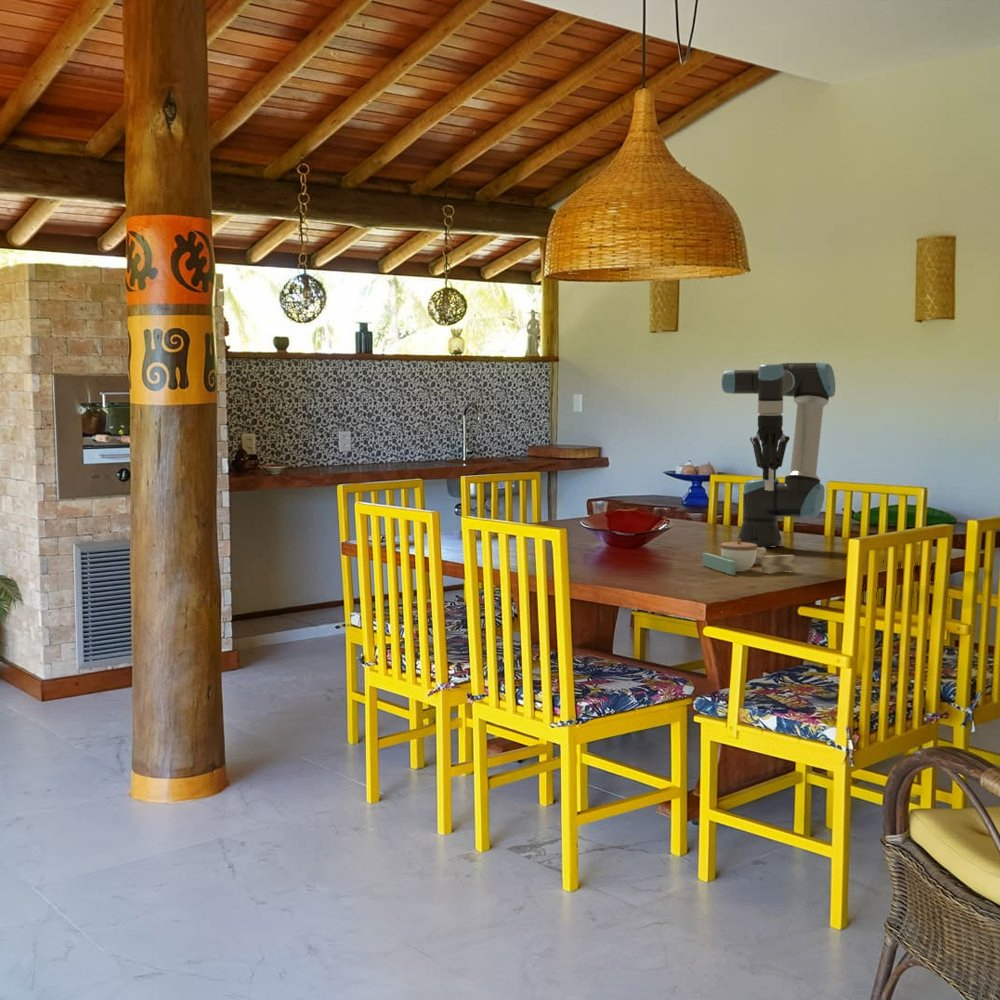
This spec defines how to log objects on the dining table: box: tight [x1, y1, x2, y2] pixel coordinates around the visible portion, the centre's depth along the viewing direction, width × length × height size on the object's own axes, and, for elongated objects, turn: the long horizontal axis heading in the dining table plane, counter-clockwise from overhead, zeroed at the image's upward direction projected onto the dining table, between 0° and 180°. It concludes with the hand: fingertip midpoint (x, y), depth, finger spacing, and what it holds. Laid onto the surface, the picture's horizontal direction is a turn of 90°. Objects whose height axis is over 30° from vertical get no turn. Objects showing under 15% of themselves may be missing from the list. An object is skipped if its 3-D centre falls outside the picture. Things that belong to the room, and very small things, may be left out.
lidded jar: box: [720, 539, 757, 572], centre depth 349 cm, size 11×11×9 cm
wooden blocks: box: [754, 547, 796, 574], centre depth 352 cm, size 10×18×5 cm, turn 17°
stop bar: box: [701, 552, 736, 576], centre depth 348 cm, size 2×18×4 cm, turn 17°
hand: (769, 490), depth 364 cm, fingers closed
